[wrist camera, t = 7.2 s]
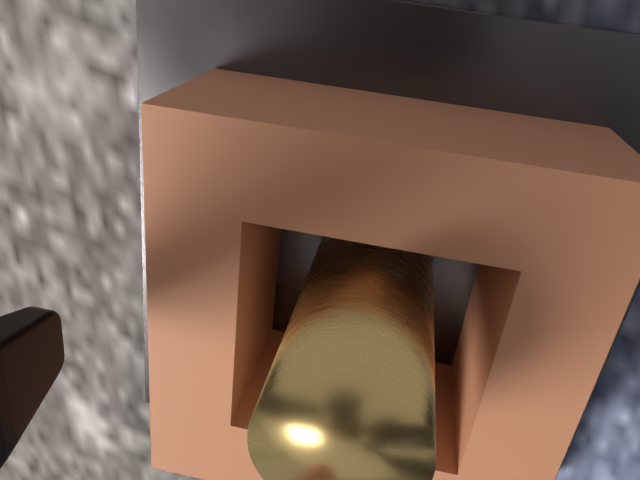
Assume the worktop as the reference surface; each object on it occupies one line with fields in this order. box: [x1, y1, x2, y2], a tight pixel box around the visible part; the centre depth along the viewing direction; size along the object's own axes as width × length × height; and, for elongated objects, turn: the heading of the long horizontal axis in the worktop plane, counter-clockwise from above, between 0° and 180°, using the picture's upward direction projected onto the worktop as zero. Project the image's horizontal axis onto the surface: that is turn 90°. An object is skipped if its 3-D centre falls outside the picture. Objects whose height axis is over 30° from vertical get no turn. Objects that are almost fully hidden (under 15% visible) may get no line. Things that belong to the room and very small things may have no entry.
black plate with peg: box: [136, 0, 640, 480], centre depth 10 cm, size 10×10×6 cm
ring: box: [141, 69, 640, 480], centre depth 10 cm, size 7×7×3 cm
